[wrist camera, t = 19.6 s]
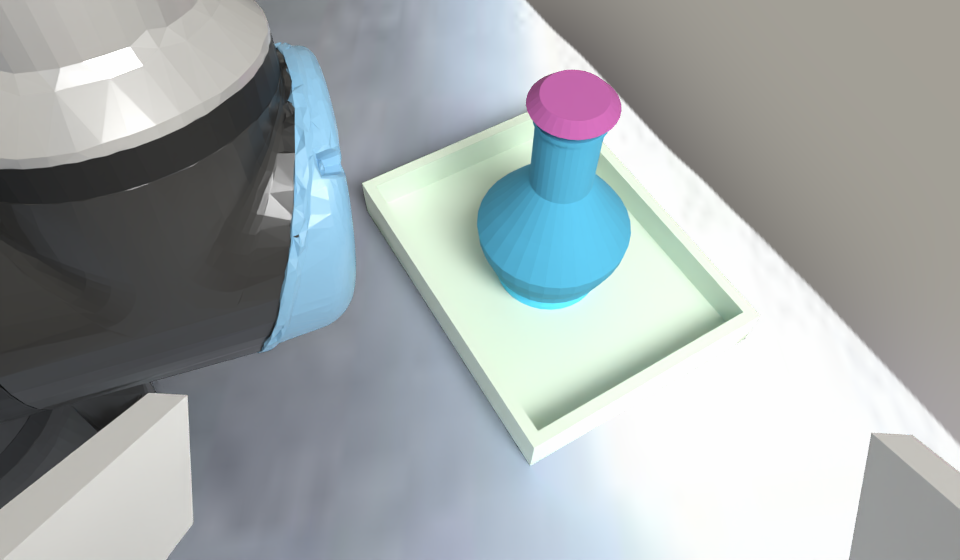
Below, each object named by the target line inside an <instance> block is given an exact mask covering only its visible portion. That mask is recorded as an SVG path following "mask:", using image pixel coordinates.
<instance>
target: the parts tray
mask: <svg viewBox="0 0 960 560" xmlns="http://www.w3.org/2000/svg"><path fill="white" fill-rule="evenodd" d="M533 137H534V125H533V121H532V119H531V118H530V116H529V114H528V112H526V113H523V114H521V115H519V116H517V117H514V118H512V119H510V120H507V121H505V122H503V123H500V124H498V125H496V126H493V127H491V128H489V129H486V130H484V131H482V132H479V133H477V134H475V135H473V136H470V137H468V138H466V139H463V140H461V141H459V142H456V143H454V144H452V145H449V146H447V147H445V148H442V149H440V150H438V151H435V152H433V153H431V154H429V155H426V156H424V157H422V158H419V159H417V160H415V161H412V162H410V163H408V164H405V165H403V166H401V167H398V168H396V169H394V170H391V171H389V172H387V173H385V174H382V175H380V176H378V177H375V178H373V179H371V180H368V181H366V182H364V183H362V186H363V191H364V197H365V202H366V207H367V211H368V213H369V214H370V216H371V217H372V219H373V221H374V222H375V224H376V225H377V227H378V228H379V230H380V232H381V233H382V235H383V236H384V238H385V239H386V241H387V242H388V244H389V246H390V247H391V249H392V250H393V252H394V253H395V255H396V257H397V258H398V260H399V261H400V263H401V264H402V266H403V268H404V269H405V271H406V272H407V274H408V275H409V277H410V278H411V280H412V282H413V283H414V285H415V286H416V288H417V289H418V291H419V293H420V294H421V296H422V297H423V299H424V300H425V302H426V304H427V305H428V307H429V308H430V310H431V311H432V313H433V314H434V316H435V318H436V319H437V321H438V322H439V324H440V325H441V327H442V329H443V330H444V332H445V333H446V335H447V336H448V338H449V340H450V341H451V343H452V344H453V346H454V347H455V349H456V350H457V352H458V354H459V355H460V357H461V358H462V360H463V361H464V363H465V365H466V366H467V368H468V369H469V371H470V372H471V374H472V376H473V377H474V379H475V380H476V382H477V383H478V385H479V386H480V388H481V390H482V391H483V393H484V394H485V396H486V397H487V399H488V401H489V402H490V404H491V405H492V407H493V408H494V410H495V412H496V413H497V415H498V416H499V418H500V419H501V421H502V422H503V424H504V426H505V427H506V429H507V430H508V432H509V433H510V435H511V437H512V438H513V440H514V441H515V443H516V444H517V446H518V448H519V449H520V451H521V452H522V454H523V455H524V457H525V458H526V460H527V462H528V463H529V465H530V466H531V465H533V464H534V463H536V462H538V461H540V460H541V459H543V458H545V457H546V456H548V455H550V454H551V453H553V452H555V451H556V450H558V449H560V448H561V447H563V446H565V445H567V444H568V443H570V442H572V441H573V440H575V439H577V438H578V437H580V436H582V435H583V434H585V433H587V432H588V431H590V430H592V429H594V428H595V427H597V426H599V425H600V424H602V423H604V422H605V421H607V420H609V419H610V418H612V417H614V416H615V415H617V414H619V413H621V412H622V411H624V410H626V409H627V408H629V407H631V406H632V405H634V404H636V403H637V402H639V401H641V400H642V399H644V398H646V397H648V396H649V395H651V394H653V393H654V392H656V391H658V390H659V389H661V388H663V387H664V386H666V385H668V384H669V383H671V382H673V381H675V380H676V379H678V378H680V377H681V376H683V375H685V374H686V373H688V372H690V371H691V370H693V369H695V368H696V367H698V366H700V365H701V364H703V363H705V362H707V361H708V360H710V359H712V358H713V357H715V356H717V355H718V354H720V353H722V352H723V351H725V350H727V349H728V348H730V347H732V346H734V345H735V344H737V343H739V342H740V341H742V340H744V339H745V337H746V336H747V335H748V333H749V332H750V330H751V329H752V327H753V326H754V324H755V323H756V321H757V320H758V319H759V317H760V315H759V314H758V313H757V311H756V310H755V309H754V308H753V307H752V306H751V305H750V304H749V303H748V301H747V300H746V299H745V298H744V297H743V296H742V295H741V294H740V293H739V292H738V290H737V289H736V288H735V287H734V286H733V285H732V284H731V283H730V282H729V281H728V279H727V278H726V277H725V276H724V275H723V274H722V273H721V272H720V271H719V269H718V268H717V267H716V266H715V265H714V264H713V263H712V262H711V261H710V260H709V258H708V257H707V256H706V255H705V254H704V253H703V252H702V251H701V250H700V249H699V247H698V246H697V245H696V244H695V243H694V242H693V241H692V240H691V239H690V237H689V236H688V235H687V234H686V233H685V232H684V231H683V230H682V229H681V228H680V226H679V225H678V224H677V223H676V222H675V221H674V220H673V219H672V218H671V217H670V215H669V214H668V213H667V212H666V211H665V210H664V209H663V208H662V207H661V205H660V204H659V203H658V202H657V201H656V200H655V199H654V198H653V197H652V196H651V194H650V193H649V192H648V191H647V190H646V189H645V188H644V187H643V186H642V185H641V183H640V182H639V181H638V180H637V179H636V178H635V177H634V176H633V175H632V173H631V172H630V171H629V170H628V169H627V168H626V167H625V166H624V165H623V164H622V162H621V161H620V160H619V159H618V158H617V157H616V156H615V155H614V154H613V153H612V151H611V150H610V149H609V148H608V147H607V146H606V145H605V144H604V143H603V142H602V147H601V151H600V156H599V160H598V164H597V169H596V174H597V175H598V176H599V177H600V178H602V179H603V180H604V181H605V182H606V183H607V184H608V185H609V186H610V187H611V188H612V189H613V190H614V191H615V192H616V193H617V195H618V196H619V197H620V198H621V200H622V202H623V203H624V205H625V207H626V209H627V212H628V215H629V218H630V224H631V236H630V241H629V246H628V248H627V250H626V252H625V254H624V257H623V258H622V260H621V262H620V264H619V266H618V267H617V268H616V269H615V271H614V272H613V273H612V274H611V275H610V276H609V277H608V278H607V279H606V280H605V281H603V282H602V283H601V284H600V285H598V286H597V287H596V288H594V289H593V290H591V291H590V292H589V293H588V294H587V296H585V297H584V298H583V299H582V300H580V301H579V302H577V303H575V304H573V305H571V306H569V307H565V308H562V309H554V310H546V309H538V308H534V307H530V306H528V305H525V304H523V303H521V302H519V301H518V300H516V299H515V298H513V297H512V296H511V295H510V294H509V293H508V292H507V291H506V290H505V288H504V287H503V286H502V284H501V282H500V280H499V278H498V276H497V274H496V273H495V271H494V270H493V268H492V267H491V266H490V264H489V263H488V261H487V259H486V257H485V255H484V253H483V250H482V248H481V245H480V241H479V234H478V228H477V218H478V210H479V207H480V205H481V202H482V199H483V198H484V196H485V195H486V193H487V192H488V190H489V189H490V188H491V187H492V186H493V185H494V184H495V183H496V182H497V181H498V180H500V179H501V178H503V177H504V176H506V175H507V174H509V173H511V172H513V171H515V170H517V169H519V168H521V167H523V166H526V165H528V164H531V155H532V146H533Z"/></svg>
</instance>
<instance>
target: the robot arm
mask: <svg viewBox="0 0 960 560" xmlns="http://www.w3.org/2000/svg"><path fill="white" fill-rule="evenodd" d="M340 163H341V152H340V148H339V138H338V130H337V125H336V120H335V116H334V112H333V107H332V103H331V100H330V96H329V92H328V88H327V85H326V82H325V78H324V76H323V73H322V70H321V68H320V66H319V63H318V61H317V59H316V57H315V55H314V54H313V53H312V52H311V51H310V50H309V49H308V48H306V47H304V46H291V45H289V44H287V43H284V44H282V45H281V42H280V43H276V44H274V42H273V38H272V35H271V31H270V28H269V24H268V21H267V19H266V16H265V14H264V11H263V10H262V9H261V8H260V6H259V5H258V4H257V3H256V2H255V1H254V0H0V560H166V559H167V557H168V556H169V555H170V553H171V552H172V551H173V549H174V548H175V547H176V546H177V544H178V543H179V542H180V540H181V539H182V538H183V536H184V535H185V534H186V532H187V531H188V530H189V528H190V527H191V526H192V524H193V503H192V482H191V460H190V438H189V417H188V395H177V394H159V393H155V391H154V389H153V387H152V385H151V383H150V382H152V381H155V380H159V379H162V378H166V377H170V376H173V375H177V374H180V373H184V372H188V371H191V370H195V369H199V368H202V367H206V366H209V365H213V364H217V363H220V362H224V361H227V360H231V359H235V358H238V357H242V356H245V355H249V354H253V353H256V352H257V353H261V352H265V351H269V350H271V349H273V348H274V347H275V346H276V345H277V344H278V343H281V342H283V341H286V340H289V339H292V338H294V337H297V336H300V335H303V334H306V333H308V332H311V331H314V330H317V329H319V328H322V327H325V326H327V325H329V324H331V323H332V322H334V321H335V320H337V319H338V318H339V317H340V316H341V315H342V314H343V313H344V312H345V310H346V309H347V307H348V306H349V304H350V301H351V299H352V296H353V293H354V288H355V278H356V257H355V241H354V231H353V221H352V213H351V205H350V198H349V192H348V186H347V180H346V176H345V173H344V170H343V168H342V166H341V164H340ZM849 560H960V472H959V471H957V470H956V469H955V468H954V467H952V466H951V465H950V464H948V463H947V462H946V461H945V460H943V459H942V458H941V457H939V456H938V455H937V454H936V453H934V452H933V451H932V450H931V449H929V448H928V447H927V446H925V445H924V444H923V443H922V442H920V441H919V440H918V439H917V438H915V437H914V436H913V435H901V434H883V433H871V439H870V444H869V450H868V456H867V461H866V467H865V472H864V478H863V484H862V489H861V495H860V501H859V506H858V512H857V517H856V523H855V529H854V534H853V540H852V546H851V551H850V557H849Z"/></svg>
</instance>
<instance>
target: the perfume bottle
mask: <svg viewBox="0 0 960 560" xmlns="http://www.w3.org/2000/svg"><path fill="white" fill-rule="evenodd" d="M526 107H527V111H528V114H529V116H530V118H531V119H532V121H533V125H534V137H533V146H532V155H531V164H528V165H526V166H523V167H521V168H519V169H517V170H515V171H513V172H511V173H509V174H507V175H506V176H504V177H503V178H501V179H500V180H498V181H497V182H496V183H495V184H494V185H493V186H492V187H491V188H490V189H489V190H488V192H487V193H486V195H485V196H484V198H483V199H482V202H481V205H480V207H479V210H478V218H477V228H478V234H479V241H480V245H481V248H482V250H483V253H484V255H485V257H486V259H487V261H488V263H489V264H490V266H491V267H492V268H493V270H494V271H495V273H496V274H497V276H498V278H499V280H500V282H501V284H502V286H503V287H504V288H505V290H506V291H507V292H508V293H509V294H510V295H511V296H512V297H513V298H515V299H516V300H518V301H519V302H521V303H523V304H525V305H528V306H530V307H534V308H538V309H546V310H554V309H562V308H565V307H569V306H571V305H573V304H575V303H577V302H579V301H580V300H582V299H583V298H584V297H585V296H587V294H588V293H589V292H590V291H591V290H593V289H594V288H596V287H597V286H598V285H600V284H601V283H602V282H603V281H605V280H606V279H607V278H608V277H609V276H610V275H611V274H612V273H613V272H614V271H615V269H616V268H617V267H618V266H619V264H620V262H621V260H622V258H623V257H624V254H625V252H626V250H627V248H628V246H629V241H630V236H631V224H630V218H629V215H628V212H627V209H626V207H625V205H624V203H623V202H622V200H621V198H620V197H619V196H618V195H617V193H616V192H615V191H614V190H613V189H612V188H611V187H610V186H609V185H608V184H607V183H606V182H605V181H604V180H603V179H602V178H600V177H599V176H598V175H597V174H596V169H597V164H598V160H599V156H600V151H601V147H602V142H603V138H604V136H605V135H606V134H607V132H608V131H609V130H611V129H612V128H613V127H614V126H615V124H616V123H617V122H618V120H619V118H620V114H621V102H620V99H619V97H618V95H617V93H616V92H615V90H614V89H613V88H612V87H611V86H610V85H609V84H607V83H606V82H605V81H603V80H602V79H600V78H599V77H597V76H595V75H593V74H591V73H589V72H586V71H581V70H564V71H560V72H556V73H553V74H550V75H548V76H545V77H543V78H542V79H540V80H539V81H537V82H536V83H535V84H534V85H533V86H532V87H531V89H530V90H529V92H528V95H527V98H526Z"/></svg>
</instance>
